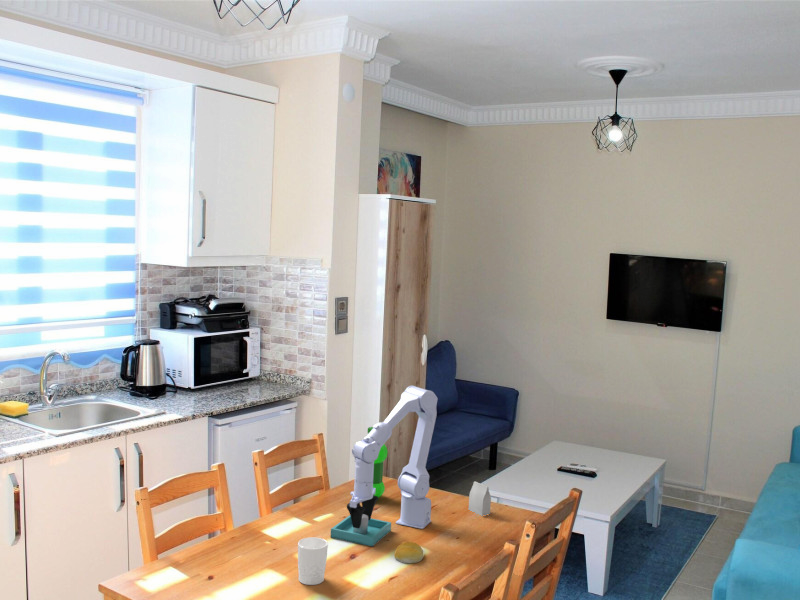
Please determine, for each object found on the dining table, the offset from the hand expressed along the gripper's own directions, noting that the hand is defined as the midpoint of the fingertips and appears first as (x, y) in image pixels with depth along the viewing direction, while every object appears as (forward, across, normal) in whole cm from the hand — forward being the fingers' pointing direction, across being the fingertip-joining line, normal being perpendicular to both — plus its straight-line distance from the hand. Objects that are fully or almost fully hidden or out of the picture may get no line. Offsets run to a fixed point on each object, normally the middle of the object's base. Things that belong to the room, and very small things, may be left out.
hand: (361, 523), depth 232 cm
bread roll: (+4, +8, +19) cm, 21 cm away
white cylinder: (+3, 0, 0) cm, 3 cm away
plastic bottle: (+4, -31, -11) cm, 33 cm away
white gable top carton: (+4, -37, +27) cm, 46 cm away
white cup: (+4, +35, +2) cm, 35 cm away
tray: (+3, 0, 0) cm, 3 cm away
